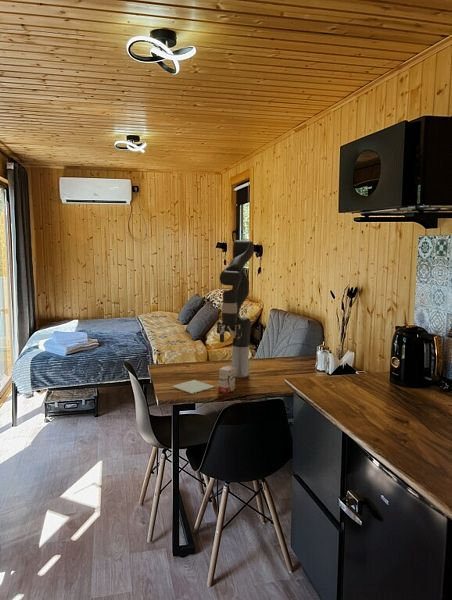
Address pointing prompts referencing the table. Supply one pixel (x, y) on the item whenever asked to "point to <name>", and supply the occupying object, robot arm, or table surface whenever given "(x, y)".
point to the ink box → (227, 379)
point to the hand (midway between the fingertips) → (228, 343)
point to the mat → (193, 386)
